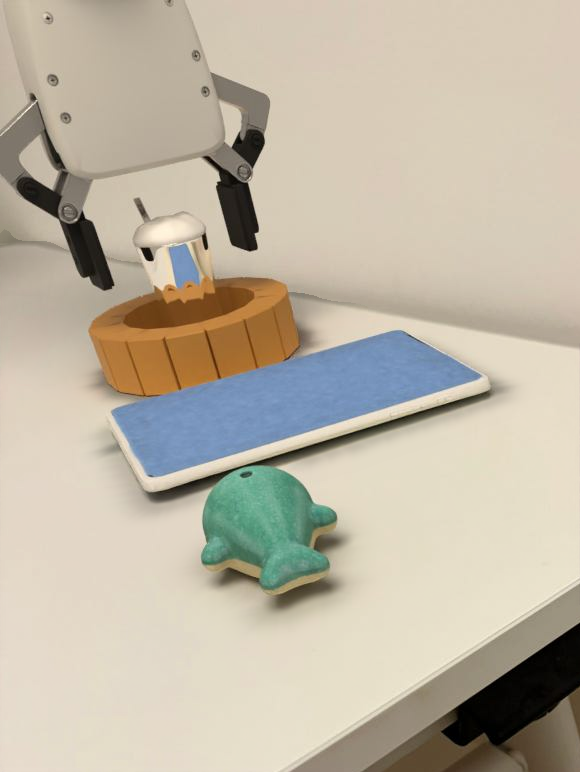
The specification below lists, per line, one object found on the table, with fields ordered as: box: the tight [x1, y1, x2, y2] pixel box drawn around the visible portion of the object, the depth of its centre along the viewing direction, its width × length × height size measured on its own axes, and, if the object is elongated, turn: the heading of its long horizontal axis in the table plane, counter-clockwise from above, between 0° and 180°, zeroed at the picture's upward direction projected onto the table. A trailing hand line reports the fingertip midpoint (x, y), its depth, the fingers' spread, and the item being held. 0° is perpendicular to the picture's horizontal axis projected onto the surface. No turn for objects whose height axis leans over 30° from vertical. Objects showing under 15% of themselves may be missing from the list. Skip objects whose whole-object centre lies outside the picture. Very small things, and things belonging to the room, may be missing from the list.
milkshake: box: [132, 197, 223, 328], centre depth 60 cm, size 4×5×10 cm
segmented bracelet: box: [87, 276, 301, 397], centre depth 62 cm, size 13×13×4 cm
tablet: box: [106, 329, 492, 493], centre depth 52 cm, size 19×13×1 cm, turn 118°
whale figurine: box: [200, 465, 338, 596], centre depth 37 cm, size 6×7×4 cm
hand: (176, 266), depth 59 cm, fingers open, 9 cm apart
